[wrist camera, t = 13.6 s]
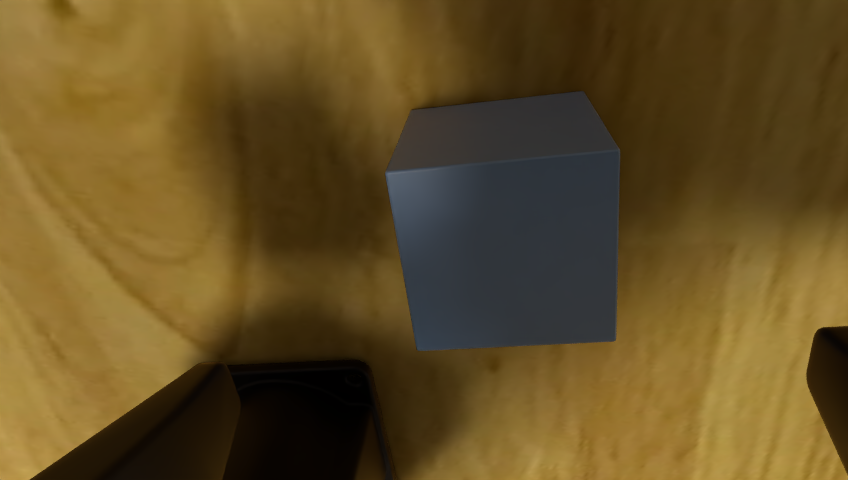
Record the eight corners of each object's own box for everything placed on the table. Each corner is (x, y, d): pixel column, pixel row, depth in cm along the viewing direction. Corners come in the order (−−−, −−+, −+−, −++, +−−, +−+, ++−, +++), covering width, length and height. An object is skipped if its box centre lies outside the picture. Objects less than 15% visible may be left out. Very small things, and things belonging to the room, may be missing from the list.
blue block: (584, 90, 14) (621, 149, 10) (585, 244, 16) (617, 342, 12) (410, 109, 15) (383, 171, 11) (432, 256, 17) (416, 352, 13)
